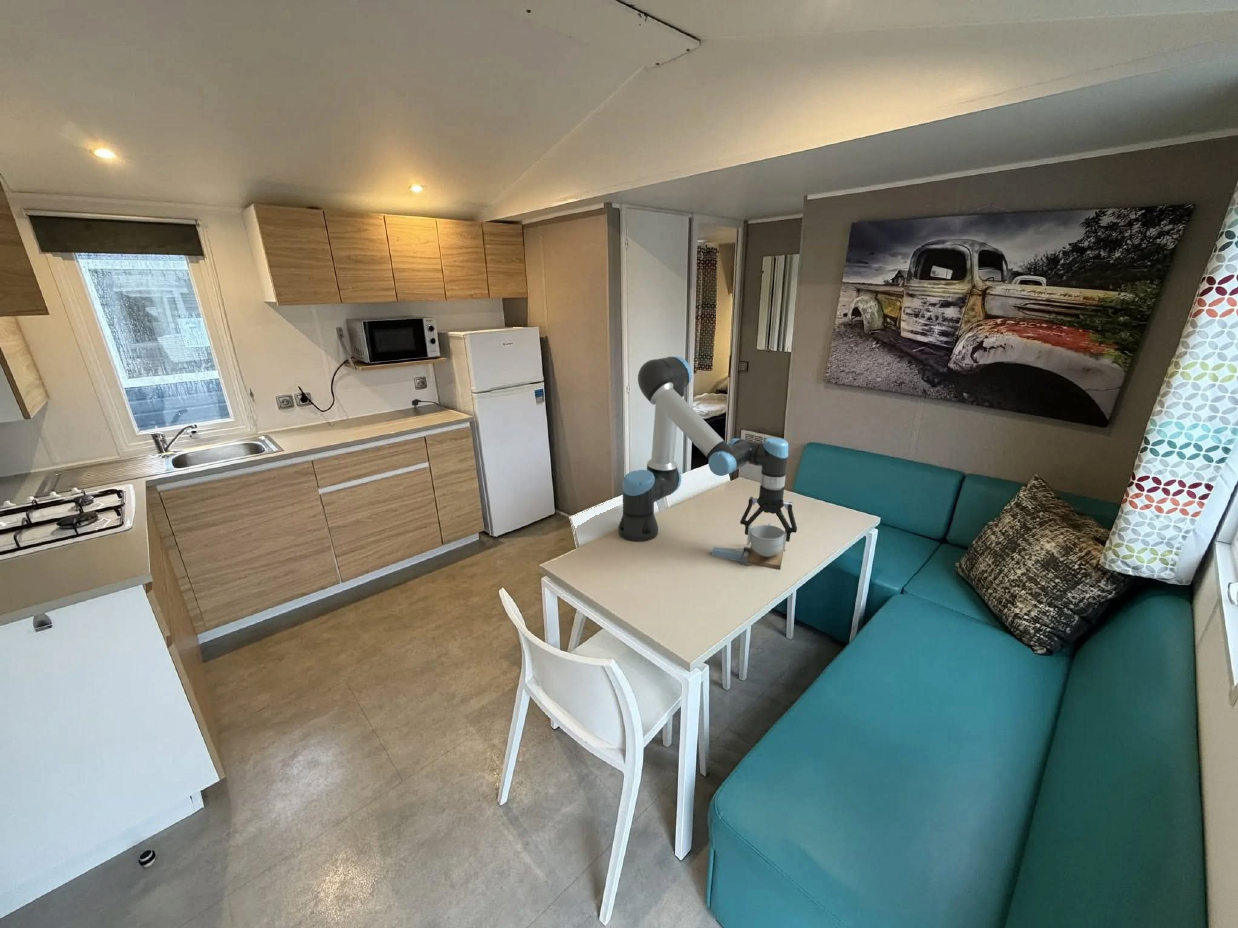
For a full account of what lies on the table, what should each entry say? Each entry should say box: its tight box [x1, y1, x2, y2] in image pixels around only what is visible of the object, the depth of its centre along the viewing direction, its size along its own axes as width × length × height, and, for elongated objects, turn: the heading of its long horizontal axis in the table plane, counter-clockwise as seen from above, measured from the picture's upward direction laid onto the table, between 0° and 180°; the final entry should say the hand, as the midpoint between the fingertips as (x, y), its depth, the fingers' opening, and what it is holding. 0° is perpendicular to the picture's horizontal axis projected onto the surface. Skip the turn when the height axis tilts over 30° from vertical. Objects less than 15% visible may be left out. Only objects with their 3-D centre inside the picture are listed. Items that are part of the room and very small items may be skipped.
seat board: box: [748, 545, 784, 570], centre depth 164 cm, size 11×11×1 cm
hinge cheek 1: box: [742, 546, 751, 555], centre depth 166 cm, size 2×1×3 cm, turn 67°
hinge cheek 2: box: [739, 555, 749, 567], centre depth 160 cm, size 2×1×3 cm, turn 67°
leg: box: [711, 546, 749, 562], centre depth 165 cm, size 12×5×3 cm, turn 68°
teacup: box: [750, 522, 785, 557], centre depth 163 cm, size 14×11×8 cm
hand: (766, 546), depth 164 cm, fingers closed on teacup, 11 cm apart
